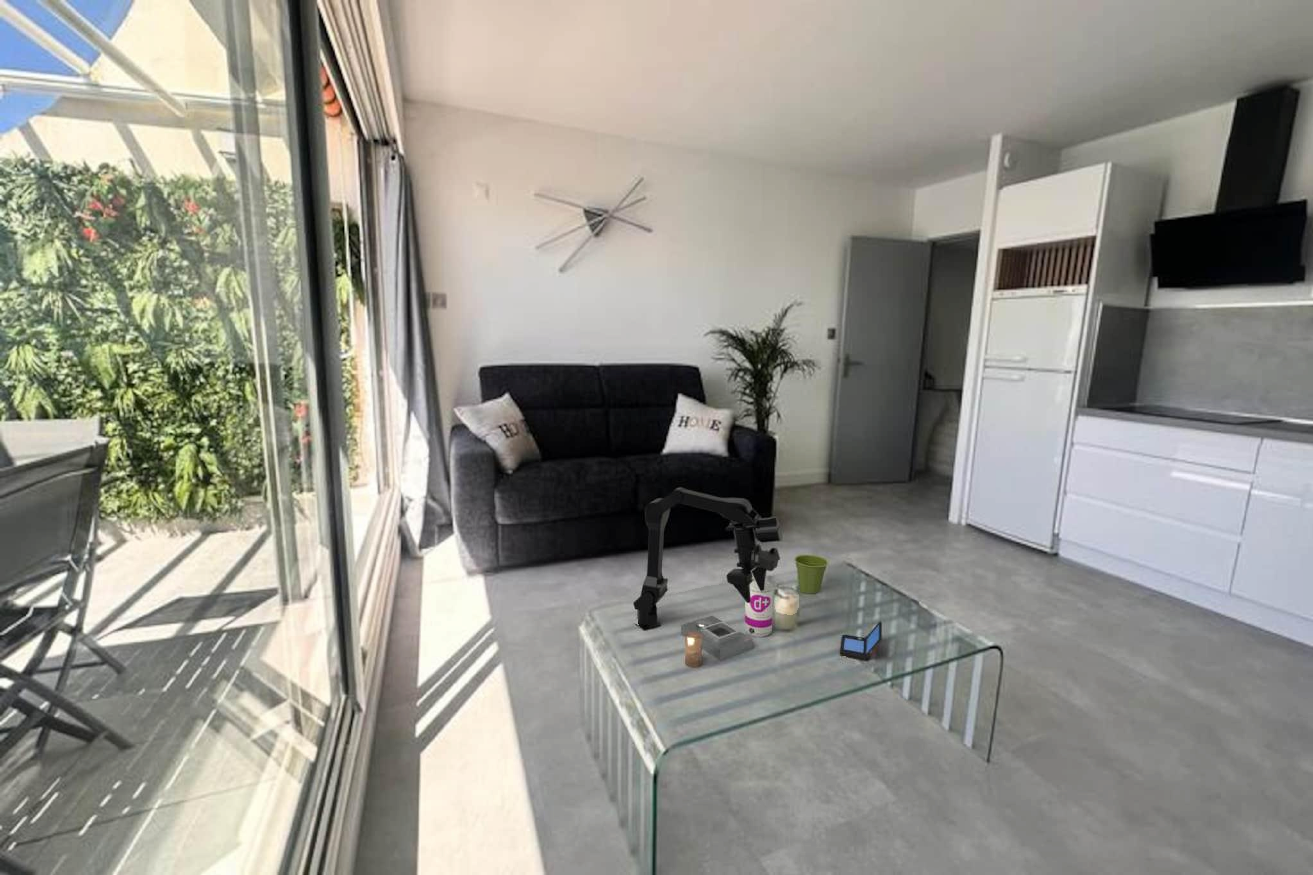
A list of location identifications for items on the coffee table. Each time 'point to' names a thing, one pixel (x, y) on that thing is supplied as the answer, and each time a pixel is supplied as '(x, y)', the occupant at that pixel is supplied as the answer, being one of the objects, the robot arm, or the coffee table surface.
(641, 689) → the coffee table surface
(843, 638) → the handheld game console
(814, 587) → the plant pot
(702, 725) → the coffee table surface
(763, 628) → the supplement can
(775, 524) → the robot arm
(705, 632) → the grey socket plate
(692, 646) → the copper tin
